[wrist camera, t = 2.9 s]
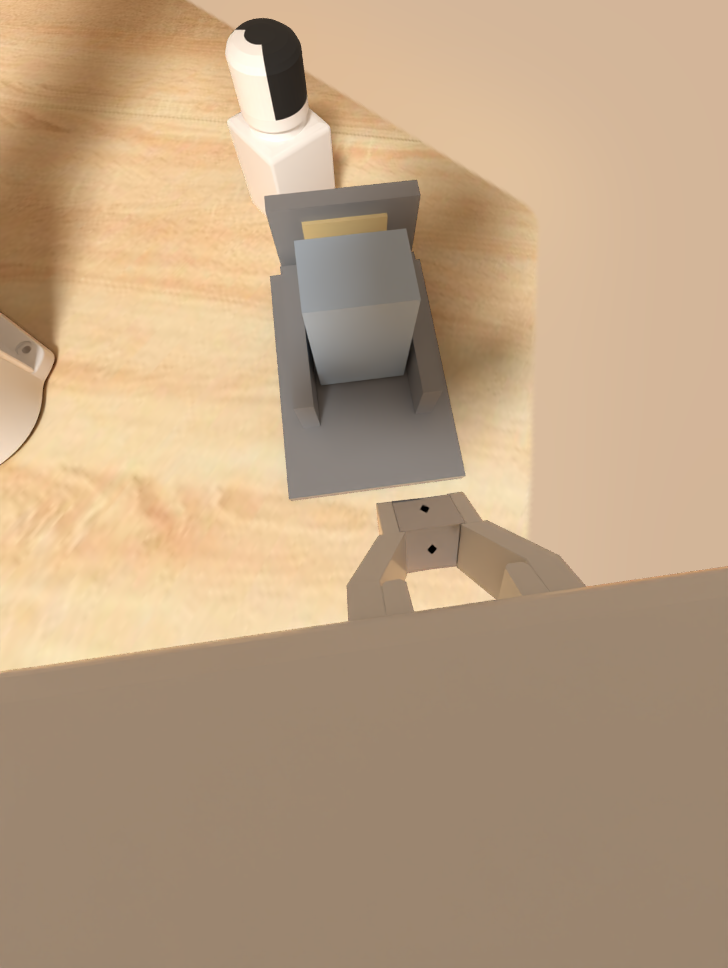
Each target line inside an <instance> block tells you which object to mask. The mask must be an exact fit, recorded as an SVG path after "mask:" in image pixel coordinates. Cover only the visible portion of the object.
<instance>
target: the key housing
mask: <svg viewBox="0 0 728 968" xmlns="http://www.w3.org/2000/svg"><path fill="white" fill-rule="evenodd" d="M264 201H265V212H266V215H267V219H268V222H269V226H270V229H271V232H272V236H273V239H274V243H275V246H276V249H277V253H278V256H279V260H280V263H281V267H280V269H281V275H276V276H270V281H271V293H272V305H273V317H274V328H275V340H276V352H277V364H278V375H279V387H280V399H281V411H282V422H283V434H284V446H285V458H286V469H287V481H288V493H289V499H290V500H291V501H294V500H302V499H309V498H317V497H324V496H332V495H339V494H347V493H354V492H362V491H369V490H377V489H384V488H392V487H399V486H406V485H414V484H421V483H429V482H436V481H444V480H451V479H459V478H463V477H464V476H465V471H464V466H463V461H462V457H461V452H460V447H459V443H458V438H457V433H456V428H455V424H454V419H453V414H452V410H451V405H450V400H449V395H448V391H447V386H446V381H445V377H444V372H443V367H442V362H441V358H440V353H439V348H438V344H437V339H436V334H435V329H434V325H433V320H432V315H431V311H430V306H429V301H428V296H427V292H426V287H425V282H424V278H423V273H422V268H421V263H420V259H418V260H415V255H414V252H411V254H412V259H413V264H414V269H415V274H416V278H417V283H418V288H419V293H420V298H421V301H420V306H419V310H418V314H417V319H416V323H415V327H414V332H413V336H412V340H411V345H410V349H409V353H408V358H407V362H406V367H405V371H404V375H401V376H393V377H385V378H377V379H369V380H361V381H353V382H345V383H337V384H328V385H321V384H320V380H319V377H318V373H317V369H316V365H315V361H314V358H313V354H312V350H311V346H310V343H309V339H308V335H307V331H306V328H305V324H304V320H303V316H302V311H301V302H300V293H299V284H298V274H297V265H296V256H295V247H294V241H296V240H305V239H314V238H323V237H332V236H342V235H351V234H360V233H369V232H378V231H387V230H396V229H406V230H407V235H408V240H409V245H410V249H411V251H412V245H413V239H414V233H415V226H416V220H417V214H418V208H419V201H420V191H419V187H418V182H417V180H411V181H402V182H392V183H383V184H373V185H363V186H354V187H344V188H335V189H325V190H316V191H306V192H297V193H287V194H278V195H268V196H264Z"/></svg>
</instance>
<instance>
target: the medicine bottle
mask: <svg viewBox="0 0 728 968" xmlns="http://www.w3.org/2000/svg"><path fill="white" fill-rule="evenodd" d="M225 55H226V59H227V63H228V66H229V70H230V73H231V77H232V80H233V84H234V88H235V91H236V95H237V98H238V102H239V105H240V109H241V112H240V113H238V114H236V115H234V116H233V117H231V118H229V119H228V121H227V125H228V128H229V131H230V134H231V137H232V141H233V144H234V147H235V150H236V153H237V156H238V159H239V162H240V165H241V168H242V171H243V175H244V178H245V181H246V184H247V187H248V190H249V193H250V196H251V199H252V202H253V204H254V205H255V206H256V207H257V208H258V209H259V210H260V211H261V212H262V213H263V214H264V215H265V216H266V217H267V215H266V212H265V201H264V196H268V195H278V194H287V193H297V192H306V191H316V190H325V189H335V178H334V165H333V153H332V140H331V129H330V126H329V125H328V124H327V123H326V122H325V121H324V120H322V119H321V118H320V117H319V116H318V115H317V114H316V113H314V112H313V111H312V110H311V109H310V108H309V107H308V98H307V90H306V82H305V74H304V66H303V58H302V50H301V44H300V42H299V40H298V38H297V36H296V35H295V33H294V32H293V31H292V30H291V29H290V28H289V27H287V26H286V25H284V24H282V23H280V22H278V21H275V20H272V19H267V18H259V19H252V20H249V21H247V22H244V23H243V24H241V25H240V26H239V27H237V28H236V29H235V30H234V31H233V32H232V33H231V35H230V36H229V38H228V40H227V44H226V50H225Z"/></svg>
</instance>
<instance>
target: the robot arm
mask: <svg viewBox="0 0 728 968" xmlns="http://www.w3.org/2000/svg"><path fill="white" fill-rule="evenodd" d="M53 363H54V354H53V353H52V352H51V351H50V350H49V349H48V348H46V347H45V346H44V345H42V344H41V343H40V342H39V341H37V340H36V339H35V338H33V337H32V336H31V335H29V334H28V333H27V332H26V331H24V330H23V329H22V328H20V327H19V326H18V325H16V324H15V323H14V322H13V321H11V320H10V319H9V318H7V317H6V316H5V315H3V314H2V313H1V312H0V464H1V463H2V462H4V461H5V460H6V459H8V458H9V457H10V456H11V455H12V454H13V453H14V452H15V451H16V450H17V449H18V448H19V447H20V446H21V445H22V444H23V442H24V441H25V440H26V438H27V437H28V436H29V434H30V432H31V431H32V429H33V427H34V425H35V423H36V421H37V418H38V416H39V412H40V409H41V403H42V392H43V385H44V381H45V379H46V378H47V376H48V374H49V372H50V370H51V368H52V366H53ZM376 509H377V520H378V530H379V536H378V537H377V539H376V540H375V542H374V543H373V545H372V547H371V548H370V550H369V551H368V553H367V554H366V556H365V558H364V559H363V561H362V562H361V564H360V565H359V567H358V568H357V570H356V572H355V573H354V575H353V576H352V578H351V579H350V581H349V583H348V584H347V603H348V621H347V622H340V623H333V624H326V625H319V626H312V627H306V628H299V629H292V630H285V631H278V632H271V633H264V634H257V635H251V636H244V637H237V638H230V639H223V640H216V641H209V642H202V643H196V644H189V645H182V646H175V647H168V648H161V649H154V650H147V651H141V652H134V653H127V654H120V655H113V656H106V657H99V658H92V659H86V660H79V661H72V662H65V663H58V664H51V665H44V666H37V667H29V668H21V669H13V670H6V671H1V672H0V968H728V566H725V567H718V568H712V569H705V570H698V571H691V572H685V573H677V574H670V575H663V576H656V577H650V578H643V579H636V580H630V581H622V582H616V583H608V584H602V585H595V586H588V587H586V586H585V584H584V583H583V582H582V581H581V580H580V579H579V577H578V576H577V575H576V574H575V573H574V572H573V571H572V569H571V568H570V567H569V566H568V565H567V564H566V562H564V560H563V559H562V558H561V557H560V556H559V555H557V554H555V553H553V552H551V551H549V550H547V549H545V548H543V547H541V546H539V545H537V544H535V543H533V542H531V541H529V540H527V539H524V538H522V537H520V536H518V535H516V534H514V533H512V532H510V531H508V530H506V529H504V528H502V527H500V526H498V525H496V524H494V523H492V522H489V521H487V520H486V521H482V519H481V518H480V516H479V515H478V513H477V512H476V510H475V509H474V507H473V506H472V504H471V503H470V501H469V500H468V498H467V497H466V495H465V494H464V493H463V492H457V493H451V494H447V495H441V496H434V497H427V498H418V499H409V500H400V501H392V502H384V503H377V504H376ZM454 566H457V568H458V569H460V570H461V571H462V572H463V573H465V574H466V575H467V576H468V577H469V578H471V579H472V580H473V581H474V582H476V583H477V584H478V585H479V586H480V587H482V588H483V589H484V590H485V591H487V592H488V593H489V594H490V595H491V596H493V597H494V598H495V599H496V600H491V601H484V602H477V603H470V604H464V605H457V606H450V607H443V608H436V609H429V610H422V611H415V612H414V610H413V606H412V602H411V599H410V595H409V591H408V587H407V584H406V582H405V578H406V576H407V573H411V572H417V571H423V570H429V569H437V568H445V567H454Z"/></svg>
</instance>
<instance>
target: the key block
mask: <svg viewBox="0 0 728 968" xmlns="http://www.w3.org/2000/svg"><path fill="white" fill-rule="evenodd" d="M294 247H295V256H296V265H297V274H298V284H299V293H300V302H301V311H302V316H303V320H304V324H305V328H306V331H307V335H308V339H309V343H310V346H311V350H312V354H313V358H314V361H315V365H316V369H317V373H318V377H319V380H320V384H321V385H328V384H337V383H345V382H353V381H361V380H369V379H377V378H385V377H393V376H401V375H404V371H405V367H406V362H407V358H408V353H409V349H410V345H411V340H412V336H413V332H414V327H415V323H416V319H417V314H418V310H419V306H420V301H421V298H420V293H419V288H418V283H417V278H416V274H415V269H414V264H413V259H412V254H411V249H410V245H409V240H408V235H407V230H406V229H396V230H387V231H378V232H369V233H360V234H351V235H342V236H332V237H323V238H314V239H305V240H296V241H294Z"/></svg>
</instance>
